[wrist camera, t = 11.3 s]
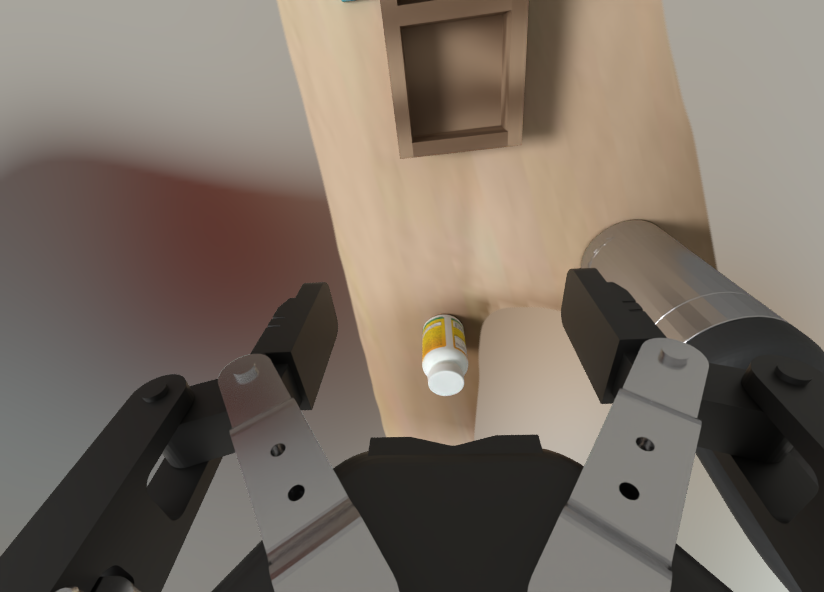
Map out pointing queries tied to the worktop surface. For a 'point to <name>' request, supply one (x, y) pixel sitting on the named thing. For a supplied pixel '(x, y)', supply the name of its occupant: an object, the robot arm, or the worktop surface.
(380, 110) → the worktop surface
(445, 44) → the wooden divided tray
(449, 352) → the supplement bottle
